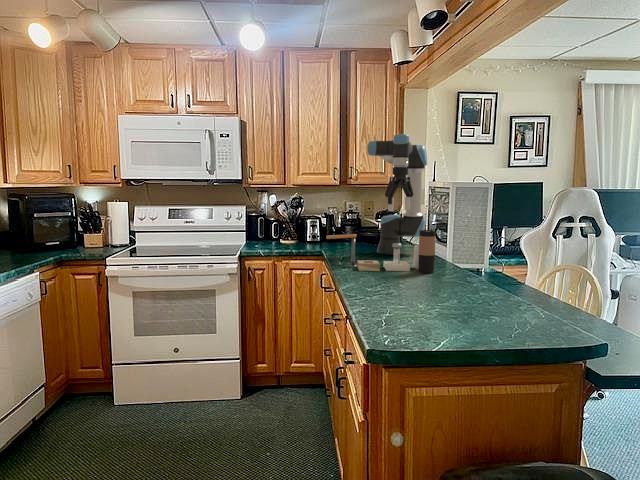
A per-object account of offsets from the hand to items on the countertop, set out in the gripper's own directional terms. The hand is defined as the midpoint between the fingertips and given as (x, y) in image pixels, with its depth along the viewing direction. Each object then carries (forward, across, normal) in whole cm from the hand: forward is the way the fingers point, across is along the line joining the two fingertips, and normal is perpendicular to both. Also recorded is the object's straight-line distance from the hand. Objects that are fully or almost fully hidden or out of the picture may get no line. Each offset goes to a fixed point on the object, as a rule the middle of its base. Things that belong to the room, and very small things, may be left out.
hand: (399, 210), depth 233 cm
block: (+29, -12, +9) cm, 32 cm away
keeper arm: (+14, -19, +20) cm, 31 cm away
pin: (+28, -2, 0) cm, 28 cm away
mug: (+29, +12, -8) cm, 32 cm away
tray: (+29, -2, 0) cm, 29 cm away
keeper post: (+29, -12, +19) cm, 36 cm away
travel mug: (+29, +2, -15) cm, 33 cm away
